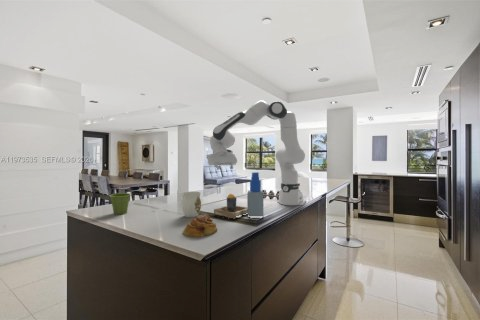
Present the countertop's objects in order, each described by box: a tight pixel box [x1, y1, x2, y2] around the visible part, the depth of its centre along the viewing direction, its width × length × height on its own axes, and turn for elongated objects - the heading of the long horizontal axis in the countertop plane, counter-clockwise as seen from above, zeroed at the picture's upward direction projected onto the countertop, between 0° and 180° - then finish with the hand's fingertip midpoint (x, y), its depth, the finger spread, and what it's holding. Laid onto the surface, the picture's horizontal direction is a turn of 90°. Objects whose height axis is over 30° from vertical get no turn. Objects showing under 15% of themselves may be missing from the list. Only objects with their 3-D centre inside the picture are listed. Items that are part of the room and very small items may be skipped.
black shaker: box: [226, 196, 237, 212], centre depth 141 cm, size 6×6×9 cm
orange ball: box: [227, 193, 236, 198], centre depth 141 cm, size 4×4×4 cm
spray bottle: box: [246, 171, 264, 217], centre depth 136 cm, size 9×9×25 cm
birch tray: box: [213, 205, 248, 217], centre depth 141 cm, size 15×15×4 cm
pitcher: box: [181, 191, 202, 218], centre depth 140 cm, size 11×18×14 cm, turn 162°
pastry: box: [182, 213, 218, 238], centre depth 112 cm, size 13×15×8 cm
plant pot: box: [108, 192, 132, 216], centre depth 146 cm, size 12×12×11 cm
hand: (225, 168), depth 160 cm, fingers open, 8 cm apart
